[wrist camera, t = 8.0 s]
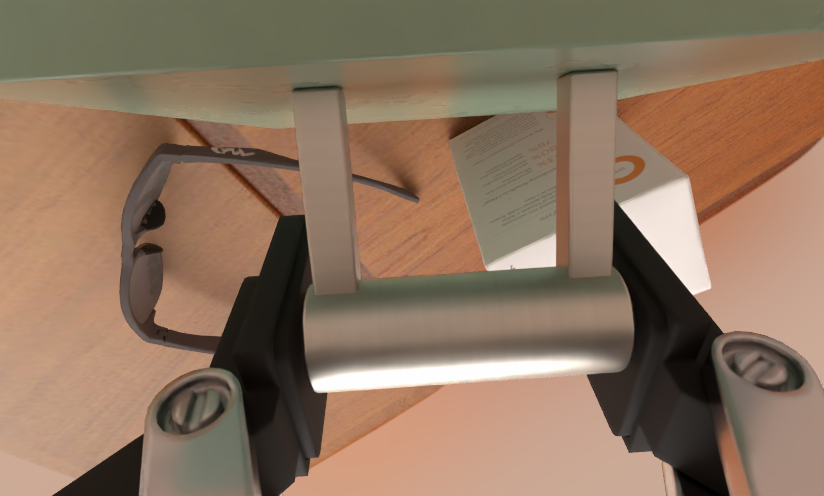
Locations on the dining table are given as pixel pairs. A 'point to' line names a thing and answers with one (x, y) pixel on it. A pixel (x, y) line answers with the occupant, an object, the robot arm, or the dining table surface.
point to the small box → (536, 195)
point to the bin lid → (413, 100)
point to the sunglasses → (148, 214)
